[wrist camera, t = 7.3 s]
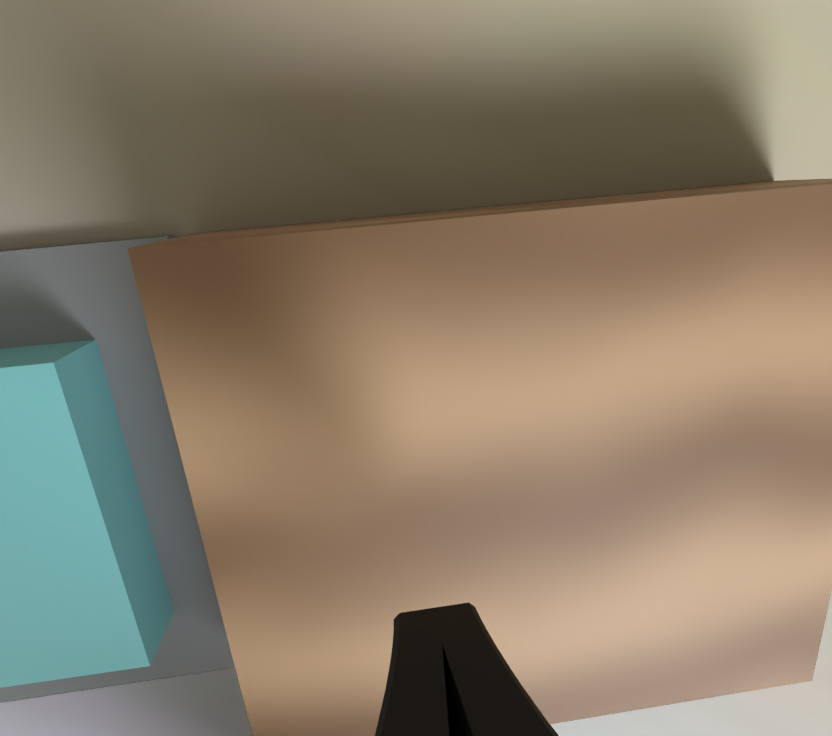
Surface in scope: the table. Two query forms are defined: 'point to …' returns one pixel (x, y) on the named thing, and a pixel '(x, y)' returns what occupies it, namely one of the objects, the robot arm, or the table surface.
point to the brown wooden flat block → (511, 442)
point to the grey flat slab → (142, 429)
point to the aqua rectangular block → (71, 524)
